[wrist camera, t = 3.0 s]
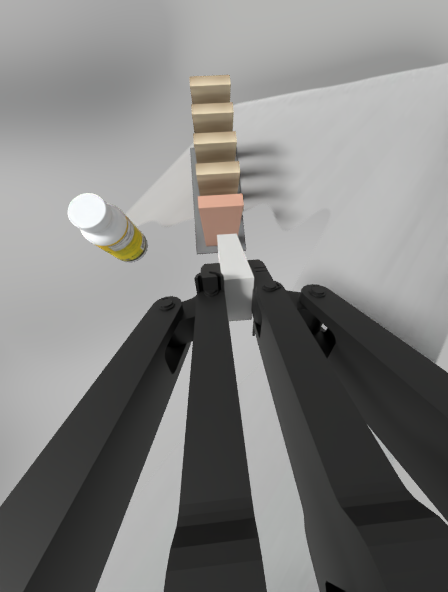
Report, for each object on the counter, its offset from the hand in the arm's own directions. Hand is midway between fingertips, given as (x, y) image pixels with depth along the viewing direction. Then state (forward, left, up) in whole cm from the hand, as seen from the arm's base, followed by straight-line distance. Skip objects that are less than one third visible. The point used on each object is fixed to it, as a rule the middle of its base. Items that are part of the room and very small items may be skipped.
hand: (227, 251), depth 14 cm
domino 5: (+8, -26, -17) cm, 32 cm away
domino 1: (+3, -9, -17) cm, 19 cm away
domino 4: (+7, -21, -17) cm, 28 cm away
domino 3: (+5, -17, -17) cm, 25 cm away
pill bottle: (+18, -4, -18) cm, 26 cm away
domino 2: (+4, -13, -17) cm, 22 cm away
